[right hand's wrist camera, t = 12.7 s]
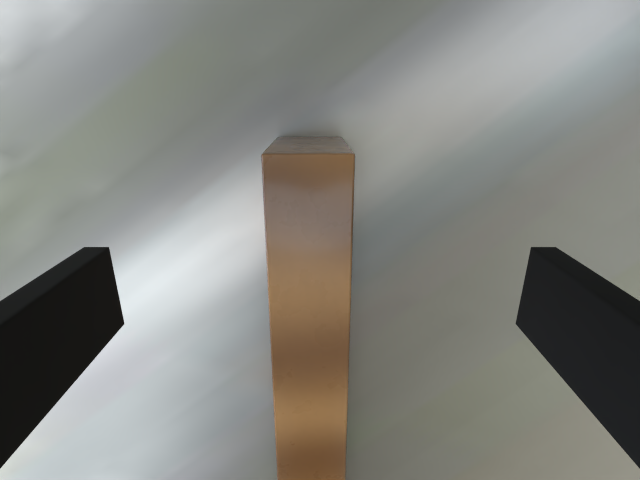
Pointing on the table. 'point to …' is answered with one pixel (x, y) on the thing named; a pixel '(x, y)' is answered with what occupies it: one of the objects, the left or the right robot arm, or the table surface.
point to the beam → (309, 300)
